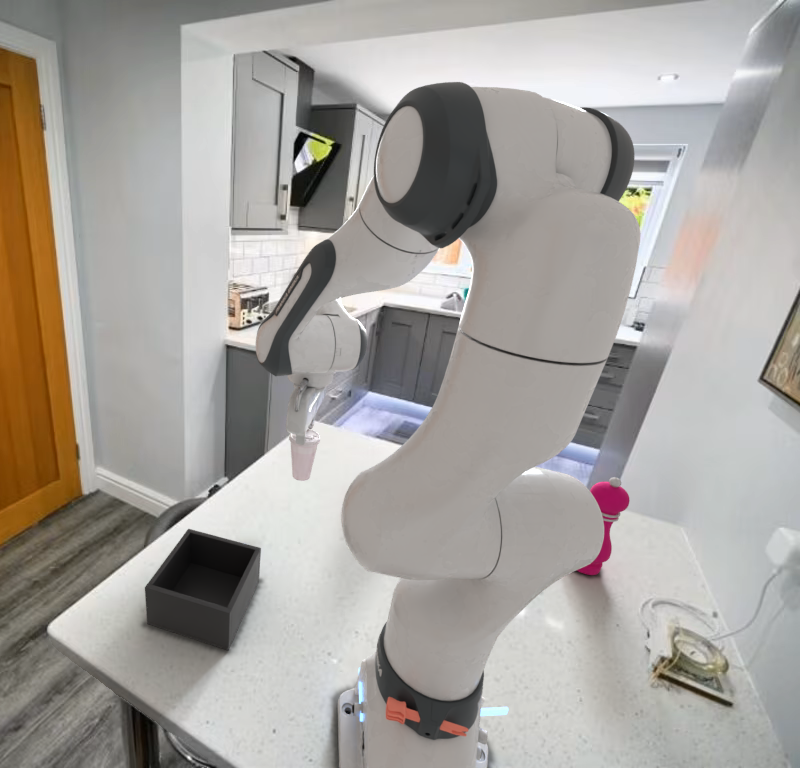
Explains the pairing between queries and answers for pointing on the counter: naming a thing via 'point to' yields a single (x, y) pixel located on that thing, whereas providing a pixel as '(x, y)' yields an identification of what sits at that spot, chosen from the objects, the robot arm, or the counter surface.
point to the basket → (204, 588)
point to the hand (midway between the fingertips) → (305, 434)
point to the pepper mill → (607, 517)
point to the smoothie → (303, 455)
